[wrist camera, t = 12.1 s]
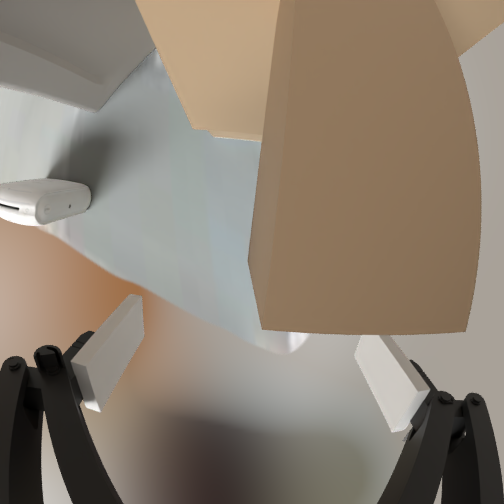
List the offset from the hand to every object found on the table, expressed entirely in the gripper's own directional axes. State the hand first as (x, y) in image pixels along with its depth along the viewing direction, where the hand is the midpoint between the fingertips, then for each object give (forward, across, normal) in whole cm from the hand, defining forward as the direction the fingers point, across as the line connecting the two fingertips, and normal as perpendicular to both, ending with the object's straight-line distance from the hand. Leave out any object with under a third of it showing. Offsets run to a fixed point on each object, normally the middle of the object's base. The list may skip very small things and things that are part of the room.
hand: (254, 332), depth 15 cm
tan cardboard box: (-1, 0, +15) cm, 15 cm away
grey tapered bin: (+19, -23, +28) cm, 41 cm away
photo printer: (+20, -27, +4) cm, 34 cm away
